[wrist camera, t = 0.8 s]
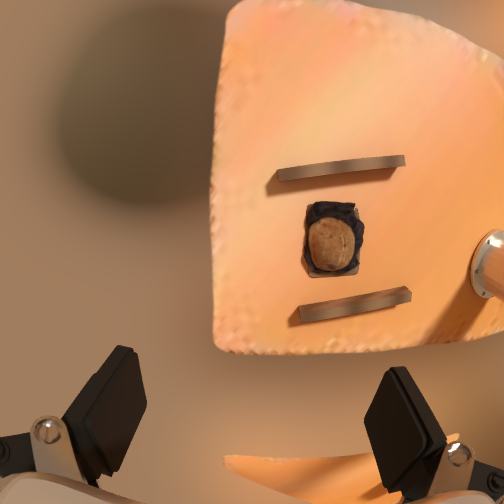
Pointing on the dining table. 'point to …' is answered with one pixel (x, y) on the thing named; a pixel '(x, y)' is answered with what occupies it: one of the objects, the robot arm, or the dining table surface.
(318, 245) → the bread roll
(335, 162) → the shelf lane
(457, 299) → the dining table surface
